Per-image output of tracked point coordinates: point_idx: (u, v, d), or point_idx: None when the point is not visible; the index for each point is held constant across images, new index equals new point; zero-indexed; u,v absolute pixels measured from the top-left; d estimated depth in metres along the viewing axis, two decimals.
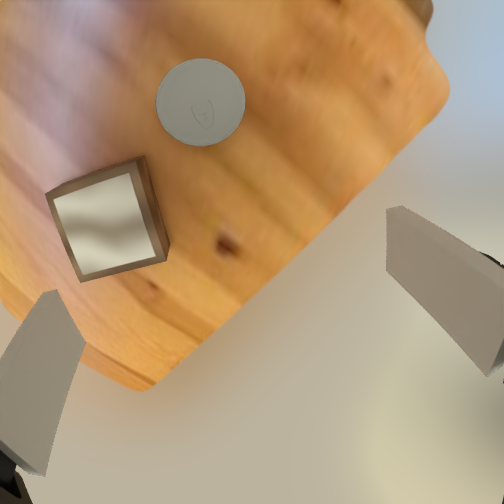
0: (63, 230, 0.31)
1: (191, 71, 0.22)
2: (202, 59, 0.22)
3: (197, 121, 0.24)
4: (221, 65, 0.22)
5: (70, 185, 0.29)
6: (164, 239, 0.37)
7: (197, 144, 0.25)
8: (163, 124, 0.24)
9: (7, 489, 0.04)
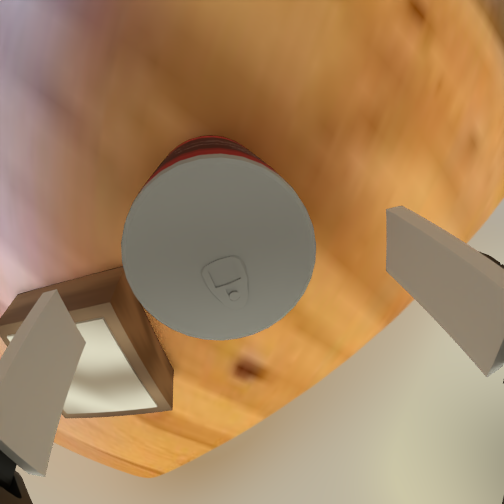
0: None
1: (195, 190, 0.11)
2: (222, 161, 0.10)
3: (215, 296, 0.13)
4: (268, 177, 0.10)
5: None
6: (166, 376, 0.25)
7: (217, 339, 0.13)
8: (145, 306, 0.12)
9: (7, 489, 0.04)
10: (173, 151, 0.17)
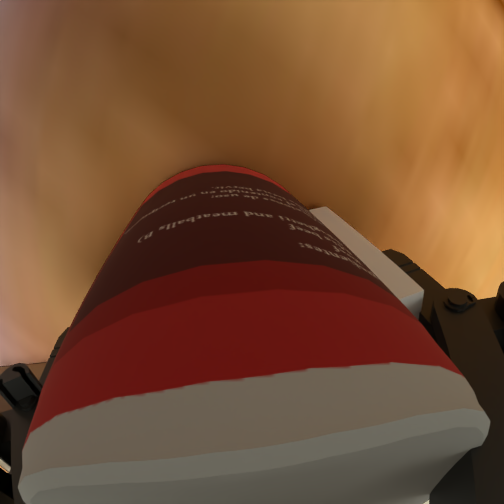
0: None
1: (200, 486, 0.02)
2: (331, 447, 0.02)
3: None
4: (461, 426, 0.02)
5: None
6: None
7: None
8: None
9: None
10: (147, 205, 0.08)
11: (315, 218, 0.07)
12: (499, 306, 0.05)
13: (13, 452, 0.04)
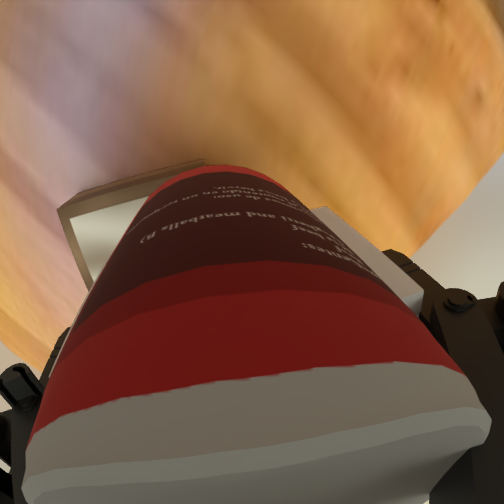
0: (84, 263, 0.22)
1: (206, 485, 0.02)
2: (336, 445, 0.02)
3: None
4: (464, 424, 0.02)
5: (97, 199, 0.21)
6: None
7: None
8: None
9: None
10: (148, 205, 0.08)
11: (317, 218, 0.07)
12: (499, 306, 0.05)
13: (14, 453, 0.04)
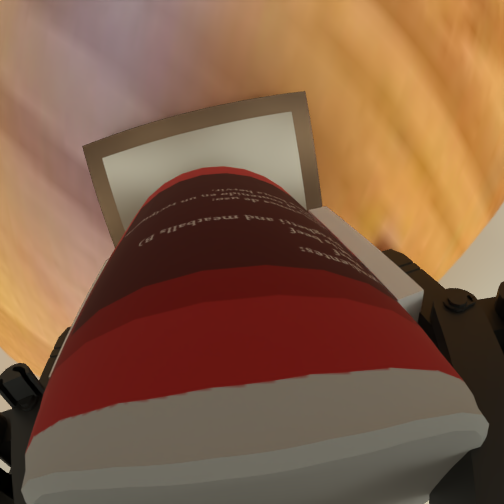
0: (120, 226, 0.16)
1: (203, 489, 0.02)
2: (331, 452, 0.02)
3: None
4: (460, 429, 0.02)
5: (147, 127, 0.14)
6: None
7: None
8: None
9: None
10: (147, 207, 0.08)
11: (315, 220, 0.07)
12: (499, 306, 0.05)
13: (14, 453, 0.04)
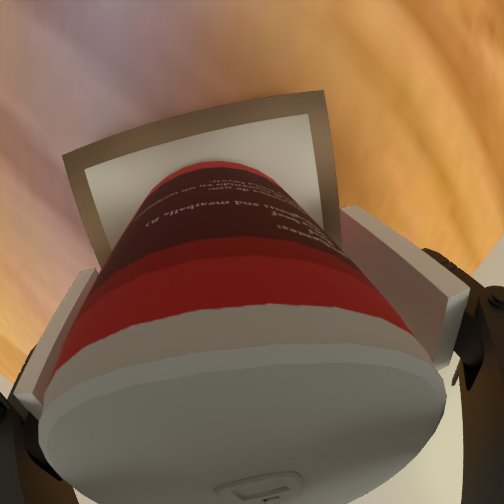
0: (108, 248, 0.14)
1: (191, 407, 0.03)
2: (280, 356, 0.03)
3: None
4: (404, 370, 0.03)
5: (136, 132, 0.12)
6: None
7: None
8: None
9: (46, 469, 0.05)
10: (152, 196, 0.09)
11: (300, 208, 0.08)
12: None
13: None
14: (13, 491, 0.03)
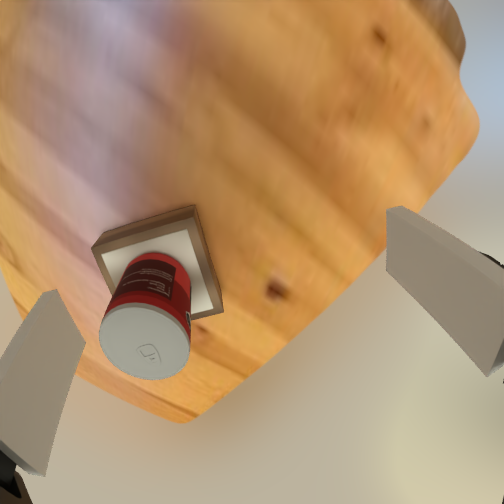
0: (113, 285, 0.32)
1: (126, 318, 0.22)
2: (134, 308, 0.22)
3: (145, 360, 0.24)
4: (156, 314, 0.22)
5: (120, 240, 0.31)
6: (218, 289, 0.38)
7: (149, 379, 0.24)
8: (114, 364, 0.23)
9: (7, 489, 0.04)
10: (126, 271, 0.28)
11: (167, 276, 0.27)
12: None
13: None
14: None
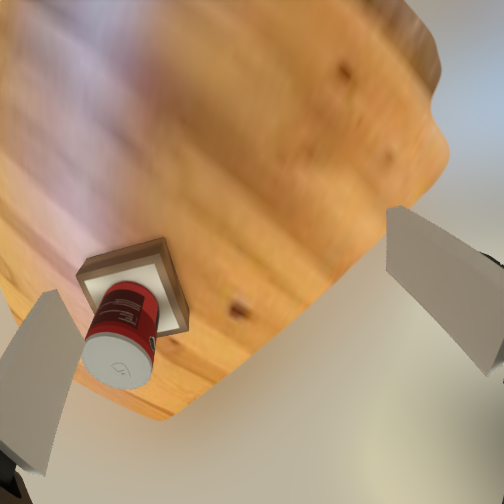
0: (95, 305, 0.37)
1: (101, 343, 0.27)
2: (107, 337, 0.26)
3: (118, 374, 0.29)
4: (123, 342, 0.27)
5: (99, 270, 0.35)
6: (185, 310, 0.42)
7: None
8: (93, 376, 0.28)
9: (7, 489, 0.04)
10: (104, 299, 0.33)
11: (136, 306, 0.32)
12: None
13: None
14: None
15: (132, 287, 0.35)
